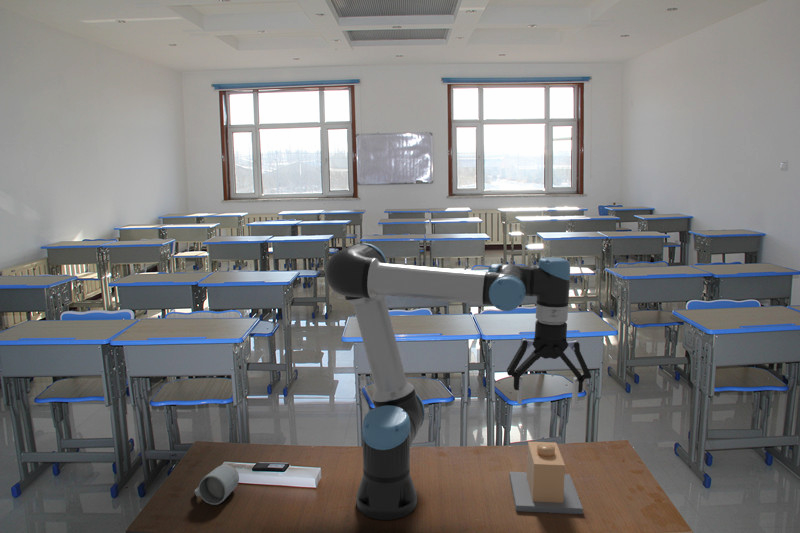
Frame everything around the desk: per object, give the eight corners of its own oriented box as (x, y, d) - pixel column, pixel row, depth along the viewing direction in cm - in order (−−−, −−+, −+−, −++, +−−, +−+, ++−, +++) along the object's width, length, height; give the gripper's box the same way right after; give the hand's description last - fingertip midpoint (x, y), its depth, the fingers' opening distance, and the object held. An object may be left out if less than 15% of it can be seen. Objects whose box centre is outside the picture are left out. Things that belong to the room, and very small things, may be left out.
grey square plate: (516, 511, 141) (517, 473, 140) (509, 476, 157) (510, 442, 156) (582, 514, 140) (584, 476, 138) (569, 479, 156) (571, 444, 154)
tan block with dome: (526, 476, 154) (528, 435, 153) (554, 477, 154) (556, 436, 152) (532, 501, 143) (534, 457, 141) (563, 502, 142) (565, 459, 140)
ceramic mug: (242, 489, 152) (240, 461, 150) (226, 506, 144) (224, 478, 142) (205, 485, 154) (203, 458, 152) (188, 502, 146) (185, 474, 145)
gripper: (501, 323, 138) (497, 407, 142) (607, 326, 136) (601, 411, 140) (498, 315, 146) (495, 395, 149) (599, 318, 144) (594, 399, 147)
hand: (546, 403), depth 145 cm, fingers open, 13 cm apart
